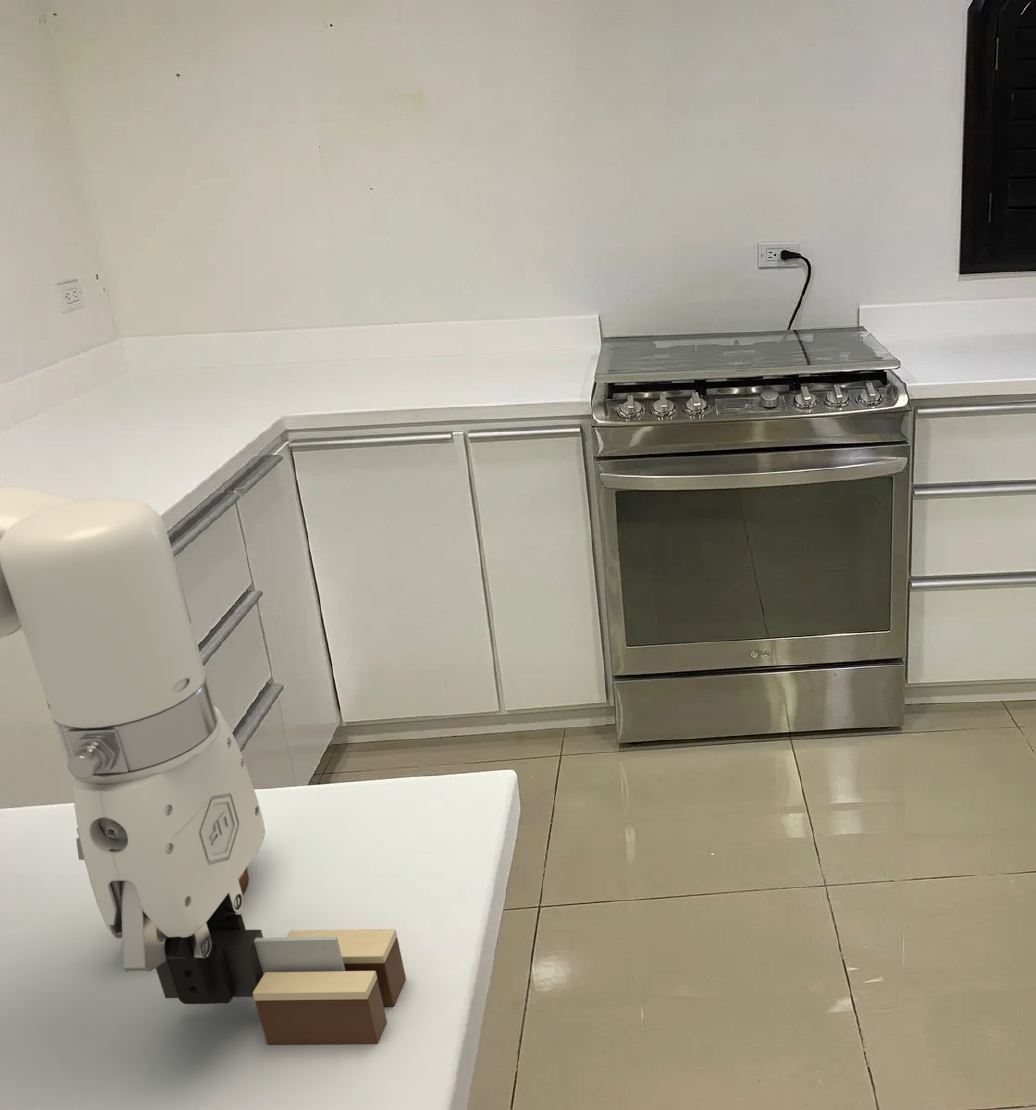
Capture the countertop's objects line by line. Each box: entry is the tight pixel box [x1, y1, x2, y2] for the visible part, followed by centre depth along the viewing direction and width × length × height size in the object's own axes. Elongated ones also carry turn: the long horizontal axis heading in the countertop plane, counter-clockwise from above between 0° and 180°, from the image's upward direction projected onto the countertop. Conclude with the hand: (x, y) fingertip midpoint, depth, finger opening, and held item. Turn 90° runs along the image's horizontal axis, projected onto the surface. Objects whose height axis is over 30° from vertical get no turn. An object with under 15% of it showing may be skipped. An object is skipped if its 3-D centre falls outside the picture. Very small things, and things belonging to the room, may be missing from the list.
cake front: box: [252, 971, 388, 1045], centre depth 65 cm, size 7×2×4 cm, turn 88°
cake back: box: [286, 928, 407, 1007], centre depth 68 cm, size 7×2×4 cm, turn 88°
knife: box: [155, 929, 345, 999], centre depth 65 cm, size 11×2×4 cm, turn 88°
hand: (218, 982), depth 66 cm, fingers closed on knife, 1 cm apart
